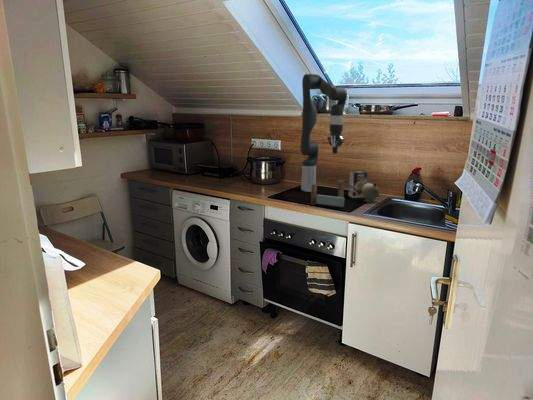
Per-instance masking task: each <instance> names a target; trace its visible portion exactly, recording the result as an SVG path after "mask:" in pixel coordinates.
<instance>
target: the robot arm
mask: <svg viewBox="0 0 533 400" xmlns="http://www.w3.org/2000/svg"><path fill="white" fill-rule="evenodd" d="M311 90H319V91H320V92H321V93H322V94H323V95H325V96H326V97H327V98H328V99H329V100H331V101H337V103H335V104H333V105H332V106H331V108H330V119H329V132H330V134H329V136H327V141H328V143H329V145H330V146H331V147H332V149H331V150H332V154H337V153H338V148H339V147H341V146H342V144H343V142H345V138H344V137H343V135H342V133H343V132H344V131H343V130H344V129H343V128H344V108H345V104H346V101H347V99H348V90H347V88H345V87H336V85H335V84H332V83H330V82H328V81H326V80H325V79H324V78H323V77H322V76H320V75H318V74H313V73H305V74H304V76H302V121H301V122H302V123H301V124H302V125H301V136H300V146H299V147H300V154H301V155H302V156H307V157H306V158H305V159H303V160H302V162H301V163H302V167H301V171H302V173H301V177H300V178H301V179H300V182H301V183H300V190H301V191H303V192H309V193H311V186H312V184H317V182H316V178H317V162H318V158H319V144H318V142H316V141H315V140H310V139H311V138H310V137H311V134H312V131H313V129H314V127H315V125H316V124H317V120H318V119H317V115H318V111H317V107H316V105H315V103H314V102H313V100H312V97H311Z"/></svg>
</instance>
